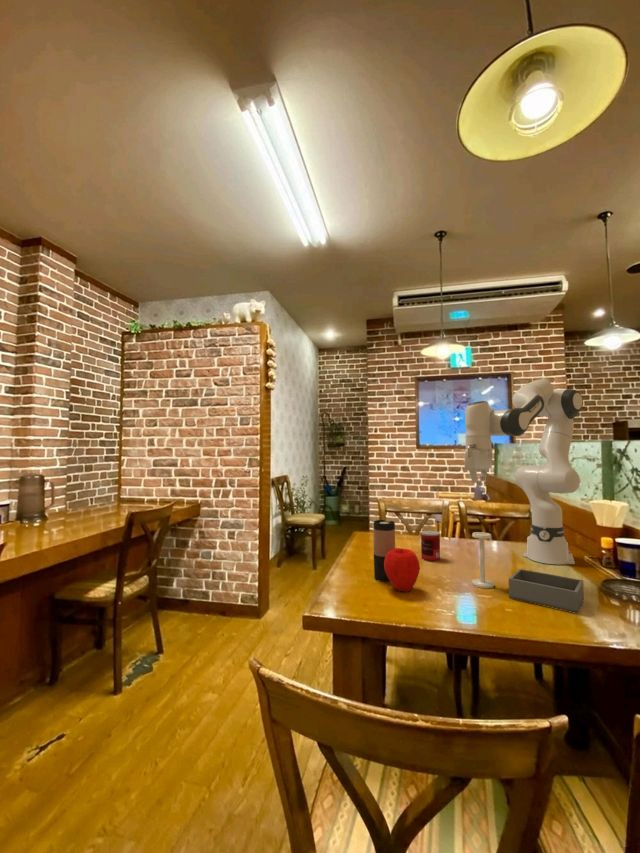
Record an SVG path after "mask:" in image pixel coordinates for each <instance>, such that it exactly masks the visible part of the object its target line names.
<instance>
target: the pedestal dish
mask: <svg viewBox="0 0 640 853" xmlns="http://www.w3.org/2000/svg"><path fill="white" fill-rule="evenodd" d="M471 536H472V538H473V539H474V538H475V539H479V540H478V542H479V572H480V573H479V576H480V578H479V577H478V578H473V579H472V580H471V586H473V587H476V588H480V589H493V588H494V587H495V583H494V581H493V580H491V579H487V578H486V565H485V564H486V561H485V559H486V557H485V555H486V554H485V540H490V539H492V534H491V533H490V532H489V533H488V532H483V531H482V532H480V531H475V532H472V535H471Z"/></svg>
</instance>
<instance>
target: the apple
mask: <svg viewBox="0 0 640 853" xmlns="http://www.w3.org/2000/svg"><path fill="white" fill-rule="evenodd" d="M420 568H421V567H420V562H419V558H418V556H417V555H416V553H415V552H414V551H412V550H411V549H407V548H403V547H402V548H400V547H395V548H394V549H392V550H390V551H389V552H388V553H387V554H386V557H385V560H384V569H385V572H386V575H387V577H388V579H389V580H390V584H391V585H392V586H393V588H394V589H396V590H397V591H399V592H406V593H407V592H409V591H411V589H413V587H414V585H415V584H416V582H417V581H418V578H419V574H420Z"/></svg>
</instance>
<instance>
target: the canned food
mask: <svg viewBox="0 0 640 853" xmlns="http://www.w3.org/2000/svg"><path fill="white" fill-rule="evenodd" d="M420 554H421V559H422V560H423V559H424V560H423V561H425V560H426V561H425V562H439V561H440V559H441V535H440V532H439V531H436V530H422V531H420ZM438 560H439V561H438Z"/></svg>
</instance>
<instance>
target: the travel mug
mask: <svg viewBox="0 0 640 853" xmlns="http://www.w3.org/2000/svg"><path fill="white" fill-rule="evenodd" d="M395 523H396V522H395V521H393V520H390V521H386V520H385V519H377V520H373V570H374V572H373V573H374V580H376V581H378V580H379V581H378V582H382V581H383V583H389V582H390V580H389V579H388V577H387V575H386V572H385V569H384V560H385V557H386V554H387V553H388V552H389V551H390V550H392V549H394V548H396V529H395V528H396V526H395V525H396V524H395ZM390 583H391V582H390Z"/></svg>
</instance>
